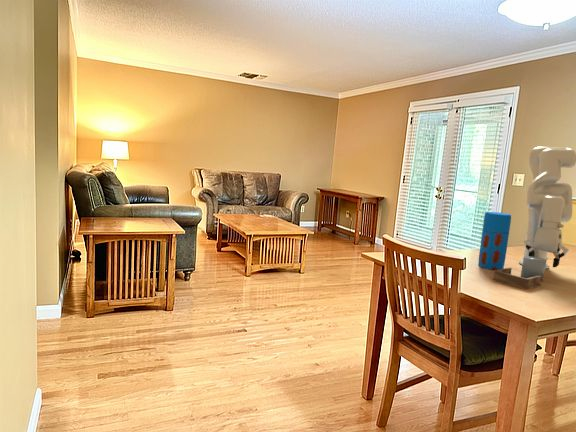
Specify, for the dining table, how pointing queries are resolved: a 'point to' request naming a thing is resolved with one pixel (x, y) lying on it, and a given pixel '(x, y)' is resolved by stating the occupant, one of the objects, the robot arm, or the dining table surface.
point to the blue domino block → (494, 240)
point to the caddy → (516, 279)
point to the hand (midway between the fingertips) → (542, 263)
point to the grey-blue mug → (533, 267)
